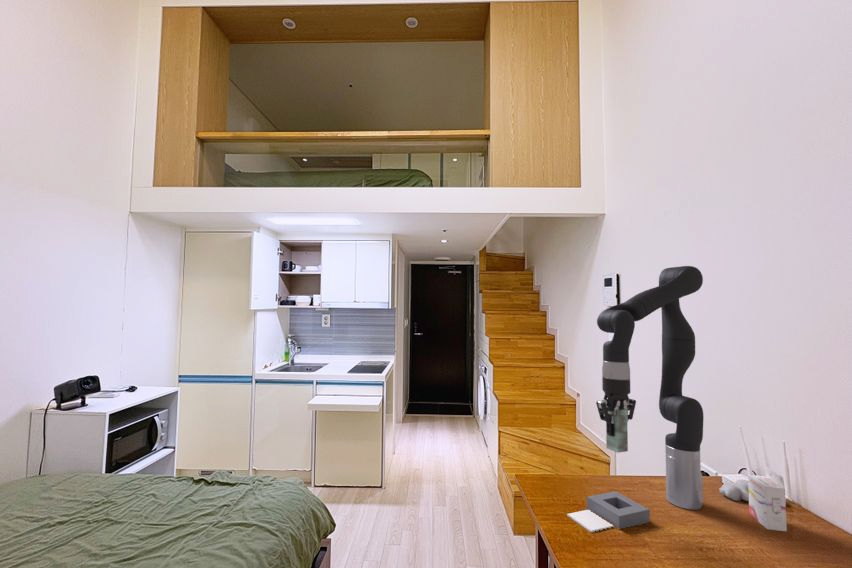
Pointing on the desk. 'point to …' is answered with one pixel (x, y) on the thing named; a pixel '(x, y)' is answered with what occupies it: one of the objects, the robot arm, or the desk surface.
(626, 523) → the pocket holder
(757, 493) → the ink cartridge box
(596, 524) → the mat
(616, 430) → the peg
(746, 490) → the bunny figurine
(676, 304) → the robot arm
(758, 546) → the desk surface
